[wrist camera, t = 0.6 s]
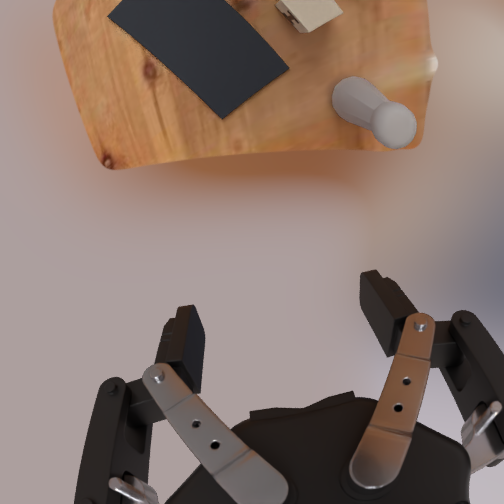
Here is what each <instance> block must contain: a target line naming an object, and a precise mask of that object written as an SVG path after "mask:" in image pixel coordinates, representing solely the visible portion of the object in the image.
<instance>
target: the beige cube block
mask: <svg viewBox="0 0 504 504" xmlns="http://www.w3.org/2000/svg"><path fill="white" fill-rule="evenodd" d="M275 6H276V7H277V8H278V9H279V10H280V11H281V12H282V13H283V14H284V16H285V17H286V18H287V19H288V20H289V21H290V22H291V23H292V24H293V26H294V27H295V28H296V29H297V30H298V31H299V33H309V32H311V31H313V30H315V29H316V28H318V27H320V26H321V25H323V24H325V23H327V22H328V21H330V20H332V19H334V18H335V17H337V16H339V15H341V14H343V11H342V10H341V9H340V7H339V6H338V5H337V4H336V2H335V1H334V0H280V1H279V2H278V3H276V4H275Z"/></svg>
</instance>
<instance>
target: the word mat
mask: <svg viewBox="0 0 504 504" xmlns="http://www.w3.org/2000/svg"><path fill="white" fill-rule="evenodd" d="M107 17H109V18H110V19H111V20H112V21H114V22H115V23H116V24H117V25H119V26H120V27H121V28H122V29H124V30H125V31H126V32H127V33H128V34H130V35H131V36H132V37H133V38H134V39H136V40H137V41H138V42H139V43H140V44H142V45H143V46H144V47H145V48H146V49H147V50H149V51H150V52H151V53H152V54H153V55H154V56H155V57H157V58H158V59H159V60H160V61H161V62H162V63H163V64H164V65H166V66H167V67H168V68H169V69H170V70H171V71H172V72H173V73H174V74H175V75H177V76H178V77H179V78H180V79H181V80H182V81H183V82H184V83H185V84H186V85H187V86H188V87H189V88H191V89H192V90H193V91H194V92H195V93H196V94H197V95H198V96H199V97H200V98H201V99H202V100H203V101H204V102H205V103H206V104H207V105H208V106H209V107H210V108H211V109H212V110H213V111H214V112H215V113H216V114H217V115H218V116H219V117H220V118H221V119H223V118H224V117H226V116H227V115H228V114H229V113H230V112H232V111H233V110H234V109H235V108H237V107H238V106H239V105H240V104H242V103H243V102H244V101H246V100H247V99H248V98H249V97H251V96H252V95H253V94H255V93H256V92H257V91H259V90H260V89H261V88H263V87H264V86H265V85H267V84H268V83H269V82H271V81H272V80H274V79H275V78H276V77H278V76H279V75H281V74H282V73H283V72H285V71H286V70H288V69H289V67H288V66H287V65H286V64H285V63H284V61H283V60H282V59H281V58H280V57H279V56H278V54H277V53H276V52H275V51H274V50H273V49H272V48H271V47H270V45H269V44H268V43H267V42H266V41H265V40H264V39H263V38H262V37H261V36H260V35H259V34H258V33H257V32H256V30H255V29H254V28H253V27H252V26H251V25H250V24H249V23H248V22H247V21H246V20H245V19H244V18H243V17H242V16H241V15H240V14H239V13H238V12H237V11H236V10H234V9H233V8H232V7H231V6H230V5H229V4H228V3H227V2H226V1H225V0H122V1H121V2H120V3H119V4H118V5H117V6H116V8H115V9H114V10H113V11H112V12H111V13H110V14H109V15H108V16H107Z"/></svg>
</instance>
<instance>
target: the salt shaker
mask: <svg viewBox="0 0 504 504" xmlns="http://www.w3.org/2000/svg"><path fill="white" fill-rule="evenodd" d="M332 105H333V107H334V109H335V111H336V112H337V114H338V115H339V116H340V117H341V118H343V119H344V120H346V121H347V122H350V123H353V124H355V125H358V126H360V127H363V128H366V129H368V130H371V131H372V132H373V134H374V136H375V138H376V139H377V140H378V141H379V142H380V143H382V144H383V145H384V146H386V147H388V148H393V149H399V148H402V147H406V146H407V145H408V144H409V143H410V142H411V141H412V140H413V138H414V136H415V134H416V127H417V122H416V120H415V117H414V114H413V113H412V112H411V111H410V110H409V109H408V108H407V107H405V106H404V105H403V104H400V103H397V102H393V101H389V100H388V99H387V98H386V97H385V96H384V95H383V94H382V93H381V92H380V91H379V90H378V89H377V88H376V87H375V86H374V85H373V84H371V83H370V82H369V81H367V80H366V79H365V78H360V77H355V76H352V77H348V78H345V79H342V80H341V81H340V82H339V83H338V84H337V85H336V86H335V88H334V91H333V94H332Z"/></svg>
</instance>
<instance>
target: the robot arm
mask: <svg viewBox="0 0 504 504" xmlns="http://www.w3.org/2000/svg"><path fill="white" fill-rule="evenodd" d="M360 306H361V309H362V311H363V313H364V315H365V316H366V318H367V320H368V322H369V324H370V326H371V328H372V329H373V331H374V333H375V335H376V337H377V339H378V341H379V343H380V345H381V347H382V349H383V350H384V352H385V354H386V356H387V357H390V356H393V355H395V356H394V359H393V363H392V365H391V368H390V371H389V374H388V377H387V380H386V382H385V385H384V388H383V391H382V393H381V396H380V398H379V401H377V400H375V399H371V398H365V397H355V395H354V392H353V391H350V392H346V393H342V394H338V395H334V396H331V397H327V398H325V399H323V400H321V401H319V402H317V403H314V404H312V405H310V406H307V407H305V408H269V409H262V410H255V411H250V418H249V419H247V420H245V421H242V422H241V423H239V424H237V425H235V426H234V427H233V428H232V429H229V428H228V427H227V426H226V425H225V424H224V423H223V422H222V421H221V420H220V419H219V418H218V416H217V415H216V414H214V412H213V411H212V410H211V409H210V408H209V407H208V406H207V405H206V404H205V403H204V402H203V401H202V399H201V398H200V397H199V396H198V395H197V394H199V393H201V381H202V369H203V359H204V348H205V332H204V328H203V326H202V323H201V320H200V318H199V315H198V313H197V310H196V307H195V306H194V305H188V306H181V307H178V309H177V313H176V317H175V318H170V319H169V321H168V322H167V323H166V325H165V326H164V328H163V332H162V336H161V340H160V341H161V342H160V343H159V347H158V351H157V355H156V359H155V363H154V365H152V366H150V367H148V368H147V369H146V371H145V372H144V374H143V376H142V378H140V379H138V380H135V381H132V382H129V383H125V381H124V380H123V379H121V378H119V377H113V378H109V379H107V380H106V381H104V382H103V383H102V385H101V386H100V388H99V391H98V394H97V398H96V401H95V405H94V409H93V412H92V416H91V420H90V424H89V428H88V432H87V437H86V441H85V445H84V450H83V455H82V460H81V464H80V469H79V475H78V481H77V486H76V493H75V500H74V504H159V502H158V496H157V493H156V491H155V490H154V489H153V488H152V487H151V486H149V485H148V472H149V471H148V470H149V458H150V446H151V437H152V436H151V435H152V427H153V423H155V422H158V421H161V420H165V419H167V420H168V422H169V423H170V424H171V426H172V427H173V428H174V430H175V431H176V432H177V434H178V435H179V436H180V438H181V439H182V440H183V442H184V443H185V444H186V445H187V447H188V448H189V449H190V450H191V452H192V453H193V454H194V455H195V457H196V458H197V459H198V460H199V461H200V463H201V464H200V465H199V466H198V467H197V468H196V469H195V471H194V472H193V473H192V474H191V475H190V476H189V477H188V478H187V479H186V481H185V482H184V483H183V484H182V485H181V486H180V487H179V488H178V489H177V491H175V492H174V494H173V495H172V496H171V497H170V498H169V499H168V500H167V501H166V502H165V504H470V501H469V481H470V475H471V474H473V473H475V472H476V471H478V470H480V469H482V468H483V467H485V466H487V467H493V466H496V465H497V464H499V463H500V462H501V461H502V460H504V354H503V353H502V351H501V350H500V348H499V347H498V345H497V344H496V342H495V341H494V340H493V338H492V337H491V335H490V334H489V333H488V331H487V330H486V328H485V327H484V326H483V324H482V323H481V322H480V320H479V319H478V318H477V317H476V315H474V314H473V313H471V312H469V311H465V310H461V311H457V312H455V313H454V314H453V316H452V319H451V321H434V319H433V318H432V317H431V316H429V315H427V314H425V313H419V312H418V311H417V309H416V308H415V307H414V305H413V304H412V303H411V301H410V300H409V299H408V297H407V296H406V295H405V294H404V292H403V291H402V290H401V288H400V287H399V286H398V284H397V283H396V282H395V281H393V280H391V279H390V278H388V277H386V278H382V276H381V275H380V274H379V272H378V271H377V270H371V271H367V272H362V273H361V275H360ZM430 368H439V369H440V371H441V373H442V375H443V377H444V379H445V381H446V383H447V385H448V387H449V389H450V391H451V393H452V395H453V397H454V399H455V401H456V404H457V406H458V408H459V410H460V412H461V415H462V417H463V419H464V421H465V423H464V425H463V427H462V430H461V436H462V445H461V444H460V443H458V442H457V441H455V440H453V439H451V438H449V437H446V436H445V435H442V434H441V433H439V432H436V431H435V430H433V429H431V428H429V427H427V426H425V425H423V424H421V423H419V422H417V421H416V420H417V418H418V414H419V410H420V407H421V404H422V400H423V396H424V392H425V388H426V384H427V380H428V375H429V370H430Z"/></svg>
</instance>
